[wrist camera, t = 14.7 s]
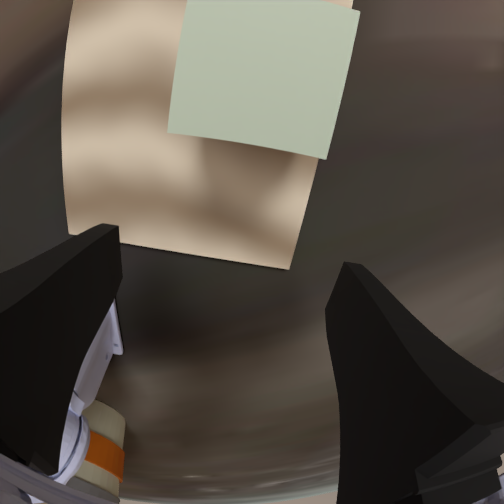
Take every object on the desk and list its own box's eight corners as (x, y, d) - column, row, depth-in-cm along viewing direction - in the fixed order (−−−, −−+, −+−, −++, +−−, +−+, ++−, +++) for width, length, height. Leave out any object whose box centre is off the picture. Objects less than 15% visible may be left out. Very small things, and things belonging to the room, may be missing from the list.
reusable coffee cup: (44, 383, 35) (8, 468, 22) (112, 392, 33) (79, 498, 21) (87, 427, 41) (64, 501, 29) (151, 436, 40) (133, 523, 27)
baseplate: (288, 261, 22) (288, 270, 21) (75, 227, 21) (68, 234, 20) (349, -4, 13) (355, -8, 12) (86, -20, 12) (77, -23, 11)
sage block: (305, 130, 12) (325, 159, 8) (197, 112, 12) (167, 132, 8) (327, 30, 10) (360, 11, 6) (215, 10, 9) (191, -19, 6)
